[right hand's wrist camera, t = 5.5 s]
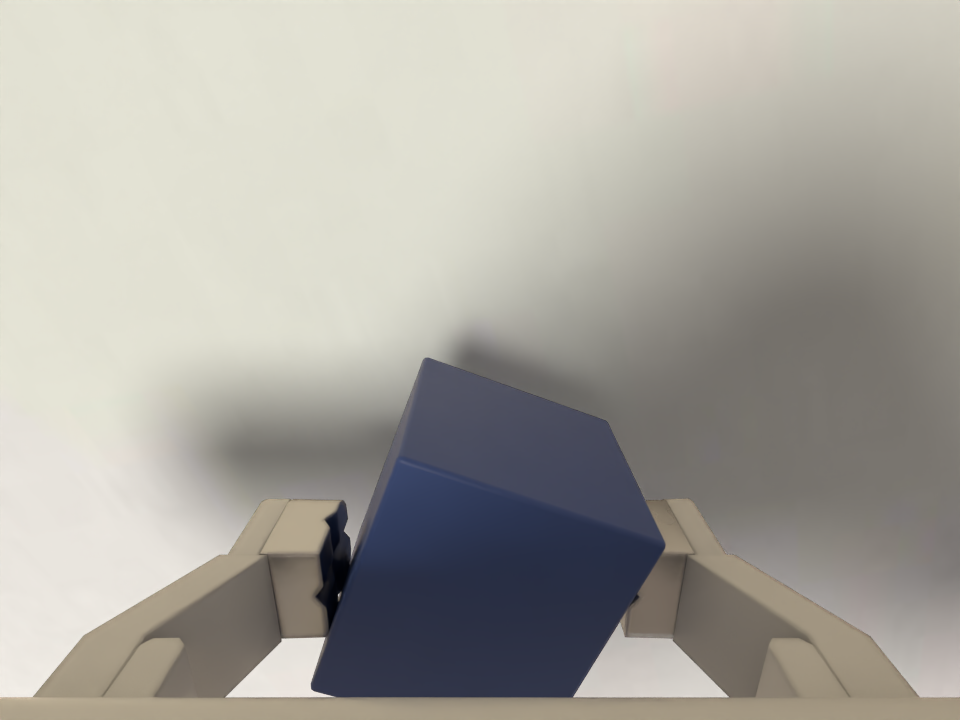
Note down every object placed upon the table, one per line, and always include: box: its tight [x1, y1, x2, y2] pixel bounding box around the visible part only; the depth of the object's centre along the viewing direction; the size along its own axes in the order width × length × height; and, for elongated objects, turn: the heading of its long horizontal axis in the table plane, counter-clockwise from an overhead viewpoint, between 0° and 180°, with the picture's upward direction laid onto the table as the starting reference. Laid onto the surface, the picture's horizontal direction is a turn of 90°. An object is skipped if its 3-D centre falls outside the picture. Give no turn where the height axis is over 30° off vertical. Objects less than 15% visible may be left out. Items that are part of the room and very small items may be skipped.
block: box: [311, 358, 666, 698], centre depth 10 cm, size 4×5×4 cm
